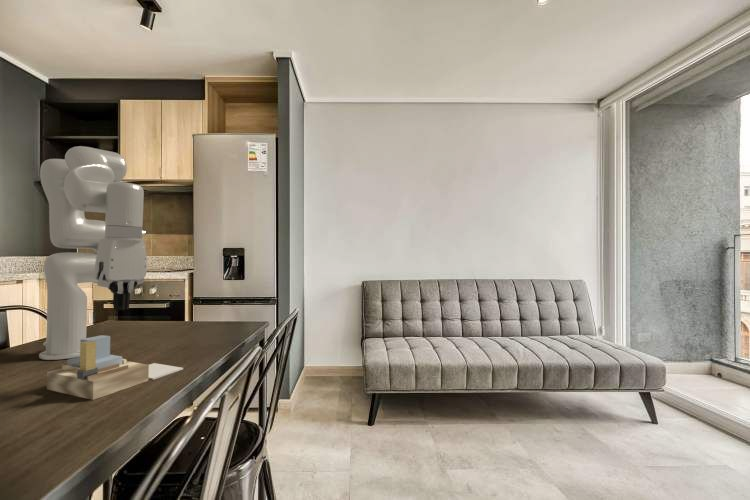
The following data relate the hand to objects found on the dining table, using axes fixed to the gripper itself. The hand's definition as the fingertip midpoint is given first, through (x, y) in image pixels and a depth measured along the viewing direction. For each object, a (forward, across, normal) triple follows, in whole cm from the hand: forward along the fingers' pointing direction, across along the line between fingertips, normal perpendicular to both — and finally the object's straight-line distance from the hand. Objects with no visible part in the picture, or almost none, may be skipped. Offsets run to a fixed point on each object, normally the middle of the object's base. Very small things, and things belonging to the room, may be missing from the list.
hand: (121, 309), depth 89 cm
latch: (+14, +8, 0) cm, 16 cm away
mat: (+18, -10, 0) cm, 21 cm away
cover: (+14, +2, -6) cm, 16 cm away
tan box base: (+18, +2, -3) cm, 19 cm away
